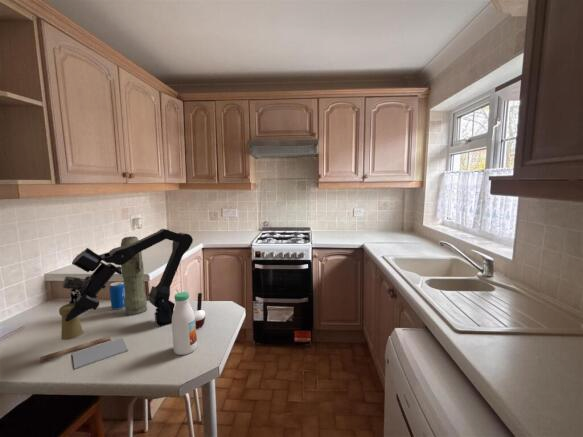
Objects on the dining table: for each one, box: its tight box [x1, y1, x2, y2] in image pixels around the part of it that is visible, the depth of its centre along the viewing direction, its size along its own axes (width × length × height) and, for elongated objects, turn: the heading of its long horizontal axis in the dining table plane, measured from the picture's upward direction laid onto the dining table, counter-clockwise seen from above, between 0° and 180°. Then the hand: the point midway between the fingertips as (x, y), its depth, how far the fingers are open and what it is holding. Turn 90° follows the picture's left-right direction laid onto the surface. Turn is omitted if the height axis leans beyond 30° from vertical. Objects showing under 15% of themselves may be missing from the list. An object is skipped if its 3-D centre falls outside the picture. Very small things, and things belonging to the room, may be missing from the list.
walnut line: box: [39, 335, 112, 363], centre depth 101 cm, size 20×2×1 cm, turn 130°
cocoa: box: [194, 292, 206, 329], centre depth 115 cm, size 10×6×12 cm, turn 155°
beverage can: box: [109, 281, 125, 311], centre depth 136 cm, size 6×6×12 cm
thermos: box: [120, 236, 148, 316], centre depth 130 cm, size 9×12×35 cm
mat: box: [72, 337, 129, 370], centre depth 98 cm, size 15×11×1 cm
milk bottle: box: [171, 291, 198, 356], centre depth 98 cm, size 8×8×20 cm
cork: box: [58, 303, 84, 341], centre depth 97 cm, size 6×6×11 cm
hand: (65, 318), depth 96 cm, fingers closed on cork, 5 cm apart
